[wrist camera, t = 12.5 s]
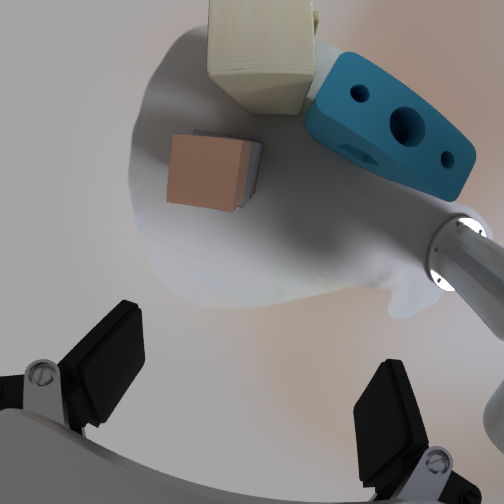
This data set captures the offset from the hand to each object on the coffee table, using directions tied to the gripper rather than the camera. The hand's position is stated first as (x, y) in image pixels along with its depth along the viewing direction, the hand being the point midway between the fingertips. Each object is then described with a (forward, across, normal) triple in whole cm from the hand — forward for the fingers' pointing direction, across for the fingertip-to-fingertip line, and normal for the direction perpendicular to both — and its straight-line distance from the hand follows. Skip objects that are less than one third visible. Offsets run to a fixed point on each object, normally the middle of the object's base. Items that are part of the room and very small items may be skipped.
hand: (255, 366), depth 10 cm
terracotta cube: (+21, +8, -5) cm, 22 cm away
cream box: (+30, +4, -16) cm, 34 cm away
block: (+30, -6, -11) cm, 33 cm away
